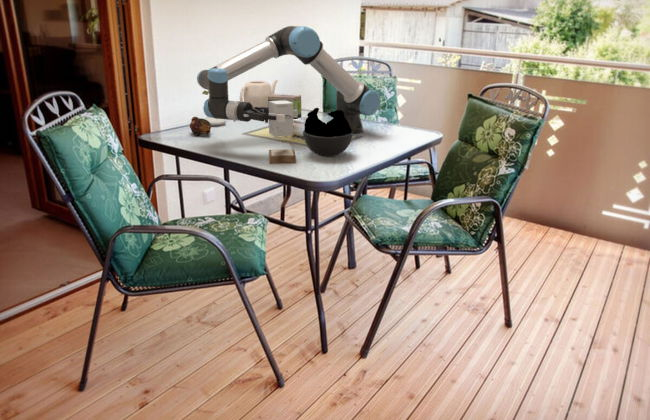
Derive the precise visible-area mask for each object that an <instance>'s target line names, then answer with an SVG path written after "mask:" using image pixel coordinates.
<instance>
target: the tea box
mask: <svg viewBox="0 0 650 420" xmlns="http://www.w3.org/2000/svg"><path fill="white" fill-rule="evenodd" d="M285 100H286V101H289V102H292V103H293V110H298V117H297V118H295V117H293V119H298V118H301V119H302V95H301V94H300V95H299V94H284V93H282V94H280V93H278V94H277V93H274V95H271V96H268V108H269V101H285Z"/></svg>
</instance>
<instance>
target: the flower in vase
mask: <svg viewBox="0 0 650 420" xmlns="http://www.w3.org/2000/svg"><path fill="white" fill-rule="evenodd" d="M201 95H207V96H209V90H204V91H202V93H201ZM208 99H209V97H208ZM205 119H206V120H207V121H209V122H210V124H211V127H213V126H221V125H225V124H226V122H227V119H215V118H211V117H207V116H206V117H205Z"/></svg>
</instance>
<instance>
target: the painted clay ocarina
mask: <svg viewBox="0 0 650 420" xmlns="http://www.w3.org/2000/svg"><path fill="white" fill-rule="evenodd" d="M189 128H190V131H191V132H192V135H195V136H196V137H200V136H201V134H205V135H207V136H208V135H210V133H211V129H212V126H211V124H210V122H209V121H207V120H206V118H199V117H198V116H193V117H192V118H191V122H190V123H189Z"/></svg>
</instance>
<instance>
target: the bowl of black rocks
mask: <svg viewBox="0 0 650 420" xmlns="http://www.w3.org/2000/svg"><path fill="white" fill-rule="evenodd" d="M319 111H320V108H319V107H315V108H313V109H312V110H310V111H309V112H307V114H306V116H307V117H306V119H305V121H304V130H302V136H303V140H304V143H305V145H306V146H307V148H308V149H309V151H311V152H312V153H314V154H316V155H317V156H320V157H325V158H332V157H335V156H338V155H340V154H342V153H343V152H344V151H346V149H348V148H349V146H350V145H351V142H352V140H353V136H354V133H353V132H352V130H351V127H350V126H349V123H348V121H347V119H346V118H345V114H344V112H343V111H342V110H336V109H335V110H332V111H330V112H328V113H326V115H327V116H329V117H331V118H332V119H330V120H329V121H327V122H325V121H323V120H321V119H320V118H319V116H318V114H319V113H318V112H319Z"/></svg>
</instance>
